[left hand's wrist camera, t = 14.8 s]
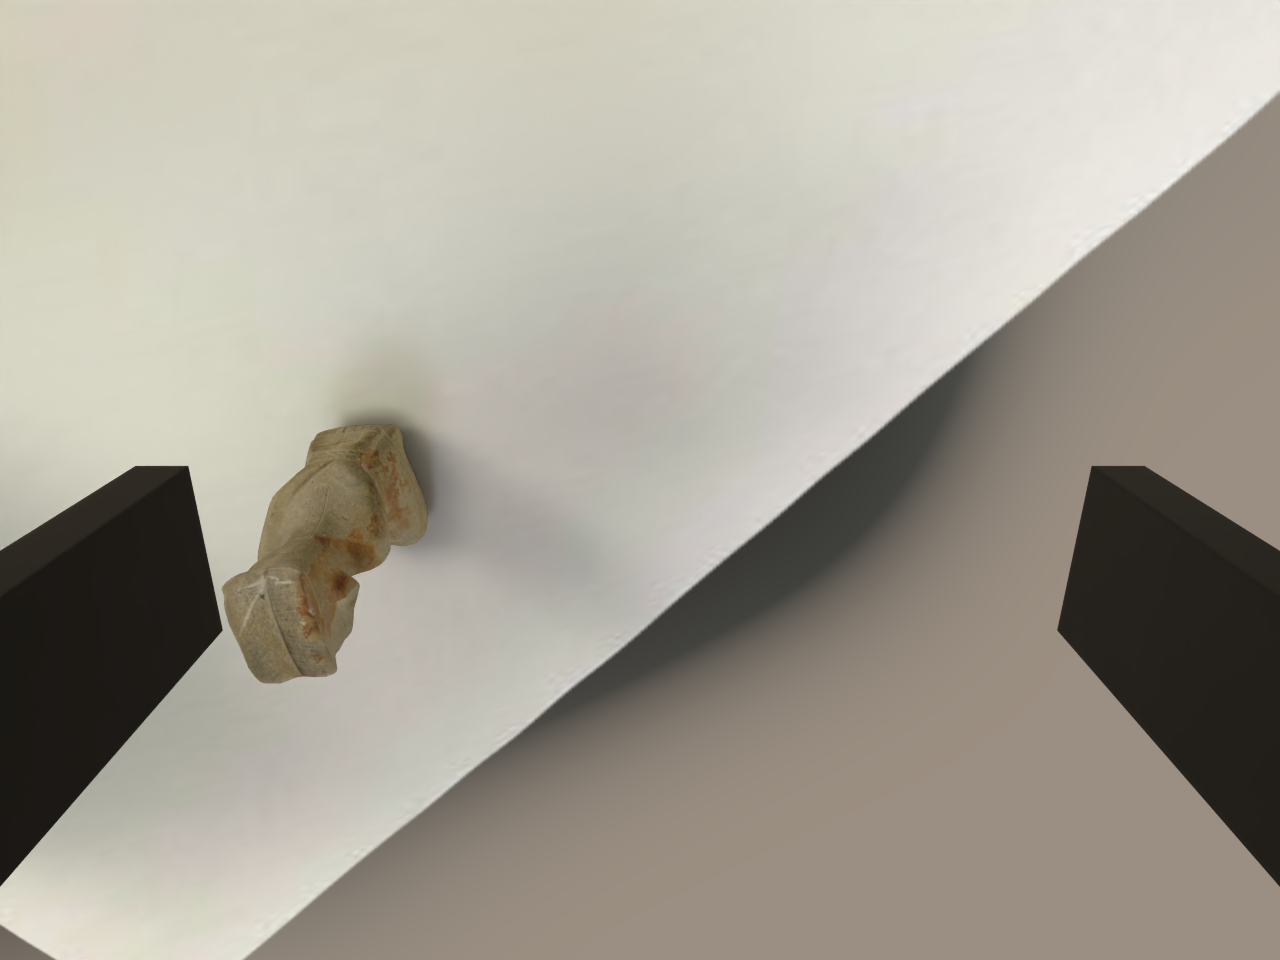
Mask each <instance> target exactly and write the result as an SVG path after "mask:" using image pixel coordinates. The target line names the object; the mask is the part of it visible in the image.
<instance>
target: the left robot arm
mask: <svg viewBox="0 0 1280 960" xmlns="http://www.w3.org/2000/svg"><path fill="white" fill-rule="evenodd" d="M1057 630H1058V632H1059V633H1060V634H1061V635H1062V636H1063V637H1064V639H1065V640H1066V641H1067V642H1068V643H1069V644H1070V645H1071V647H1072V648H1073V649H1074V650H1075V651H1076V652H1077V653H1078V655H1079V656H1080V657H1081V658H1082V659H1083V660H1084V662H1085V663H1086V664H1087V665H1088V666H1089V667H1090V669H1091V670H1092V671H1093V672H1094V673H1095V674H1096V675H1097V677H1098V678H1099V679H1100V680H1101V681H1102V682H1103V683H1104V685H1105V686H1106V687H1107V688H1108V689H1109V690H1110V692H1111V693H1112V694H1113V695H1114V696H1115V697H1116V698H1117V700H1118V701H1119V702H1120V703H1121V704H1122V705H1123V707H1124V708H1125V709H1126V710H1127V711H1128V712H1129V713H1130V715H1131V716H1132V717H1133V718H1134V719H1135V720H1136V721H1137V723H1138V724H1139V725H1140V726H1141V727H1142V728H1143V730H1144V731H1145V732H1146V733H1147V734H1148V735H1149V736H1150V738H1151V739H1152V740H1153V741H1154V742H1155V743H1156V745H1157V746H1158V747H1159V748H1160V749H1161V750H1162V751H1163V753H1164V754H1165V755H1166V756H1167V757H1168V758H1169V760H1170V761H1171V762H1172V763H1173V764H1174V765H1175V766H1176V768H1177V769H1178V770H1179V771H1180V772H1181V773H1182V774H1183V776H1184V777H1185V778H1186V779H1187V780H1188V781H1189V783H1190V784H1191V785H1192V786H1193V787H1194V788H1195V789H1196V791H1197V792H1198V793H1199V794H1200V795H1201V796H1202V798H1203V799H1204V800H1205V801H1206V802H1207V803H1208V804H1209V806H1210V807H1211V808H1212V809H1213V810H1214V811H1215V813H1216V814H1217V815H1218V816H1219V817H1220V818H1221V819H1222V821H1223V822H1224V823H1225V824H1226V825H1227V826H1228V827H1229V829H1230V830H1231V831H1232V832H1233V833H1234V834H1235V836H1236V837H1237V838H1238V839H1239V840H1240V841H1241V842H1242V844H1243V845H1244V846H1245V847H1246V848H1247V849H1248V851H1249V852H1250V853H1251V854H1252V855H1253V856H1254V857H1255V858H1256V860H1257V861H1258V862H1259V863H1260V864H1261V865H1262V867H1263V868H1264V869H1265V870H1266V871H1267V872H1268V874H1269V875H1270V876H1271V877H1272V878H1273V879H1274V880H1275V882H1276V883H1277V884H1278V885H1279V886H1280V551H1279V550H1277V549H1276V548H1274V547H1273V546H1271V545H1269V544H1268V543H1266V542H1265V541H1263V540H1261V539H1260V538H1258V537H1257V536H1255V535H1254V534H1252V533H1250V532H1249V531H1247V530H1246V529H1244V528H1242V527H1241V526H1239V525H1238V524H1236V523H1234V522H1233V521H1231V520H1230V519H1228V518H1226V517H1225V516H1223V515H1222V514H1220V513H1218V512H1217V511H1215V510H1214V509H1212V508H1211V507H1209V506H1207V505H1206V504H1204V503H1203V502H1201V501H1199V500H1198V499H1196V498H1195V497H1193V496H1191V495H1190V494H1188V493H1187V492H1185V491H1183V490H1182V489H1180V488H1179V487H1177V486H1175V485H1174V484H1172V483H1171V482H1169V481H1167V480H1166V479H1164V478H1163V477H1161V476H1159V475H1158V474H1156V473H1155V472H1153V471H1151V470H1150V469H1148V468H1147V467H1145V466H1092V467H1091V472H1090V477H1089V482H1088V487H1087V491H1086V496H1085V501H1084V505H1083V510H1082V515H1081V520H1080V525H1079V529H1078V534H1077V539H1076V544H1075V548H1074V553H1073V558H1072V563H1071V567H1070V572H1069V577H1068V582H1067V587H1066V591H1065V596H1064V601H1063V606H1062V610H1061V615H1060V620H1059V625H1058V629H1057ZM222 631H223V629H222V625H221V620H220V615H219V610H218V606H217V601H216V596H215V591H214V587H213V582H212V577H211V572H210V567H209V563H208V558H207V553H206V548H205V544H204V539H203V534H202V529H201V525H200V520H199V515H198V510H197V505H196V501H195V496H194V491H193V486H192V482H191V477H190V472H189V467H188V466H135V467H133V468H132V469H130V470H128V471H127V472H125V473H124V474H122V475H120V476H119V477H117V478H116V479H114V480H113V481H111V482H109V483H108V484H106V485H105V486H103V487H101V488H100V489H98V490H97V491H95V492H93V493H92V494H90V495H89V496H87V497H85V498H84V499H82V500H81V501H79V502H77V503H76V504H74V505H73V506H71V507H69V508H68V509H66V510H65V511H63V512H61V513H60V514H58V515H57V516H55V517H54V518H52V519H50V520H49V521H47V522H46V523H44V524H42V525H41V526H39V527H38V528H36V529H34V530H33V531H31V532H30V533H28V534H26V535H25V536H23V537H22V538H20V539H18V540H17V541H15V542H14V543H12V544H10V545H9V546H7V547H6V548H4V549H3V550H1V551H0V886H1V885H2V884H3V883H4V882H5V880H6V879H7V878H8V877H9V876H10V875H11V874H12V872H13V871H14V870H15V869H16V868H17V867H18V865H19V864H20V863H21V862H22V861H23V860H24V859H25V857H26V856H27V855H28V854H29V853H30V852H31V851H32V849H33V848H34V847H35V846H36V845H37V844H38V842H39V841H40V840H41V839H42V838H43V837H44V836H45V834H46V833H47V832H48V831H49V830H50V829H51V827H52V826H53V825H54V824H55V823H56V822H57V821H58V819H59V818H60V817H61V816H62V815H63V814H64V813H65V811H66V810H67V809H68V808H69V807H70V806H71V804H72V803H73V802H74V801H75V800H76V799H77V798H78V796H79V795H80V794H81V793H82V792H83V791H84V789H85V788H86V787H87V786H88V785H89V784H90V783H91V781H92V780H93V779H94V778H95V777H96V776H97V774H98V773H99V772H100V771H101V770H102V769H103V768H104V766H105V765H106V764H107V763H108V762H109V761H110V760H111V758H112V757H113V756H114V755H115V754H116V753H117V751H118V750H119V749H120V748H121V747H122V746H123V745H124V743H125V742H126V741H127V740H128V739H129V738H130V736H131V735H132V734H133V733H134V732H135V731H136V730H137V728H138V727H139V726H140V725H141V724H142V723H143V722H144V720H145V719H146V718H147V717H148V716H149V715H150V713H151V712H152V711H153V710H154V709H155V708H156V707H157V705H158V704H159V703H160V702H161V701H162V700H163V698H164V697H165V696H166V695H167V694H168V693H169V692H170V690H171V689H172V688H173V687H174V686H175V685H176V684H177V682H178V681H179V680H180V679H181V678H182V677H183V675H184V674H185V673H186V672H187V671H188V670H189V669H190V667H191V666H192V665H193V664H194V663H195V662H196V660H197V659H198V658H199V657H200V656H201V655H202V654H203V652H204V651H205V650H206V649H207V648H208V647H209V645H210V644H211V643H212V642H213V641H214V640H215V639H216V637H217V636H218V635H219V634H220V633H221V632H222Z"/></svg>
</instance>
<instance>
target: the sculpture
mask: <svg viewBox="0 0 1280 960" xmlns="http://www.w3.org/2000/svg"><path fill="white" fill-rule="evenodd" d="M426 527H427V509H426V504H425V500H424V497H423V495H422V492H421V489H420V487H419V484H418V482H417V480H416V477H415V475H414V472H413V470H412V468H411V467H410V464H409V462H408V459H407V457H406V454H405V451H404V447H403V436H402V434H401V432H400V430H399V429H398V427H397V426H395V425H359V426H349V427H340V428H335V429H330V430H326V431H323V432H320V433H318V434H317V435H316V437H315V439H314V440H313V441H312V442H311V445H310V448H309V451H308V455H307V459H306V465H305V468H304V469H302V470H301V471H300V472H298V473H297V474H296V475H295V476H294V477H293V478H292V479H291V480H290V481H288V482H287V483H286V484H285V485H284V486H283V487H282V488H281V489H280V490H279V491H278V492H277V493H276V494H275V495H274V497H273V498H272V500H271V503H270V505H269V508H268V512H267V516H266V519H265V523H264V527H263V531H262V535H261V540H260V545H259V550H258V562H257V563H255V564H254V565H253V566H252V567H251V568H250V570H249V571H248V572H245V573H241V574H239V575H237V576H235V577H233V578H231V579H230V580H229V581H227V582H226V583H225V584H224V585H223V587H222V591H223V594H224V606H225V611H226V615H227V619H228V622H229V625H230V627H231V630H232V632H233V634H234V636H235V638H236V640H237V642H238V644H239V646H240V648H241V650H242V653H243V655H244V658H245V660H246V663H247V665H248V668H249V669H250V671H251V672H252V673H253V675H254V676H255V677H256V678H257V679H258V680H259V681H260V682H262V683H283V682H285V681H288V680H291V679H293V678H296V677H303V676H304V677H325V676H329V675H331V674H334V673H335V672H336V671H337V664H336V658H335V654H336V653H337V652H338V650H339V649H340V647H341V645H342V644H343V642H344V640H345V639H346V638H347V637H348V635H349V634H350V633H351V631H352V627H353V613H354V606H355V603H356V599H357V595H358V591H359V583H358V582H357V581H356V580H355V579H354V578H352V577H351V576H353V575H356V574H358V573H362V572H365V571H368V570H371V569H373V568H375V567H377V566H379V565H380V564H381V563H383V562H384V560H385V559H386V557H387V556H388V554H389V552H390V546H391V545H399V546H404V545H410V544H413V543H415V542H417V541H418V540H419V539H420V538H421V537H422V536H423V535H424V533H425V531H426Z"/></svg>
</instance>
